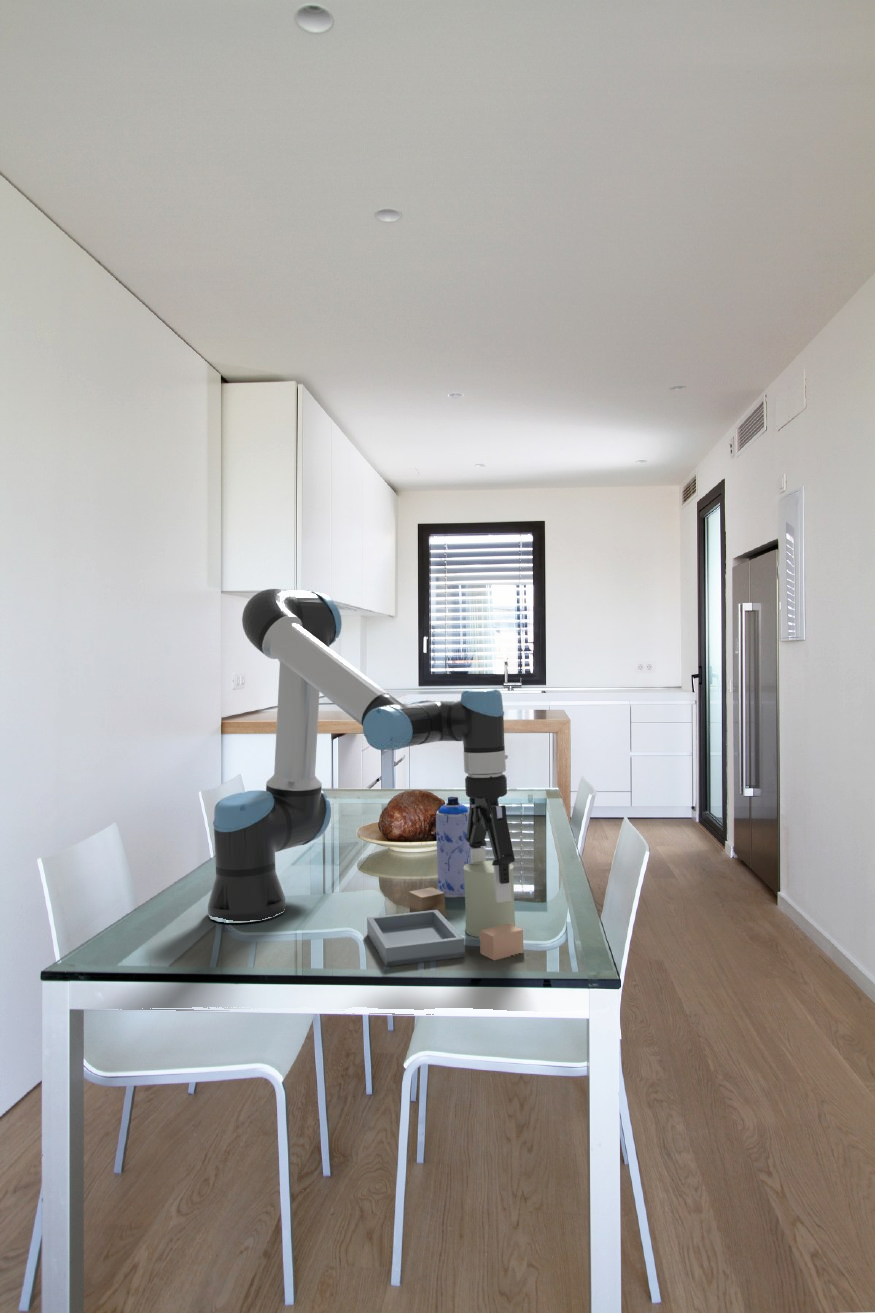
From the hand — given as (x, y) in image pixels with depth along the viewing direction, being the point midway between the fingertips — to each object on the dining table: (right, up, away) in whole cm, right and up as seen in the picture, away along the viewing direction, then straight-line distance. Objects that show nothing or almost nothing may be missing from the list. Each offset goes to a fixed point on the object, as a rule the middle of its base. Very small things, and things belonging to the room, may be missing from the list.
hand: (491, 891), depth 155 cm
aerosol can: (-6, -7, +26) cm, 27 cm away
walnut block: (-12, -7, +9) cm, 16 cm away
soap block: (+1, -7, -12) cm, 14 cm away
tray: (-14, -7, -7) cm, 17 cm away
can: (0, -7, 0) cm, 7 cm away
